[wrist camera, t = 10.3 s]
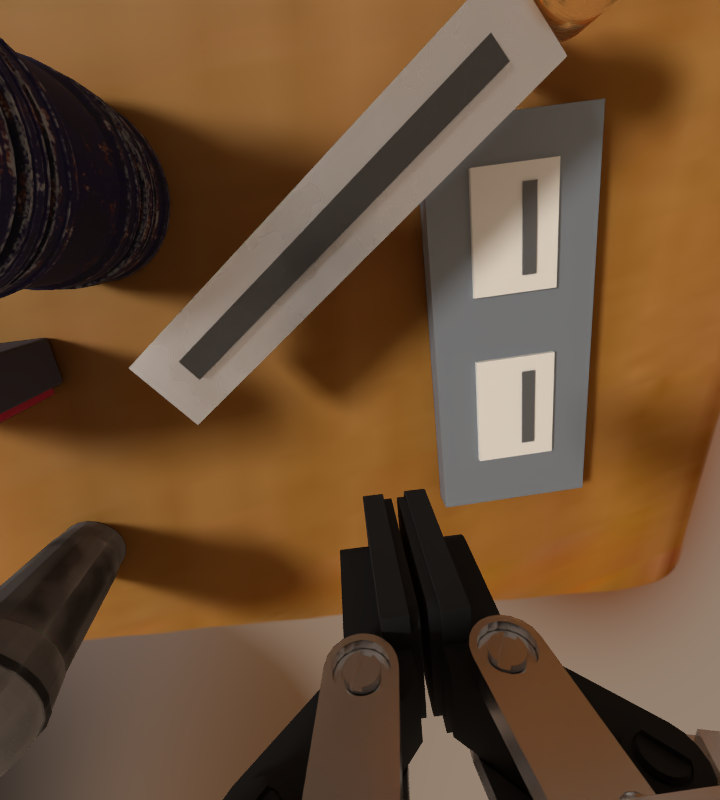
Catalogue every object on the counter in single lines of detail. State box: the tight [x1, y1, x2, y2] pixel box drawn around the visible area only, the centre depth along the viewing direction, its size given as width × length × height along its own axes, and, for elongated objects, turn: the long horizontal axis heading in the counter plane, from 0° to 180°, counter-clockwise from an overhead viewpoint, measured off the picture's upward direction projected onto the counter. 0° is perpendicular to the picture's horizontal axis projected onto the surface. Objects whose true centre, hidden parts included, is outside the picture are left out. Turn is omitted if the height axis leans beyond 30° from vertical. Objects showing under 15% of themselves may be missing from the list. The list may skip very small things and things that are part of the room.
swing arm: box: [129, 0, 617, 425], centre depth 18 cm, size 26×4×2 cm, turn 133°
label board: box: [420, 98, 605, 507], centre depth 25 cm, size 28×10×6 cm, turn 7°
